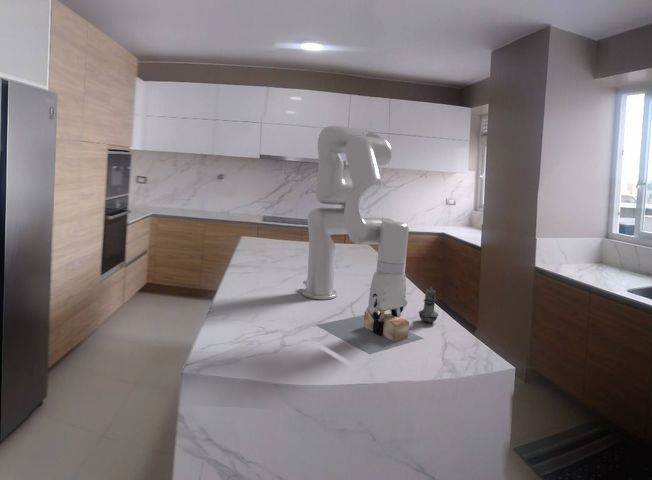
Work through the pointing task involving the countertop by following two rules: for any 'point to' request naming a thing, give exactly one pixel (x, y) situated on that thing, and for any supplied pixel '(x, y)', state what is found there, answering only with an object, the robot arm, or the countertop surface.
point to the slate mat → (363, 335)
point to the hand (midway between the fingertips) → (385, 331)
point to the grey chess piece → (429, 307)
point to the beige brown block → (389, 326)
